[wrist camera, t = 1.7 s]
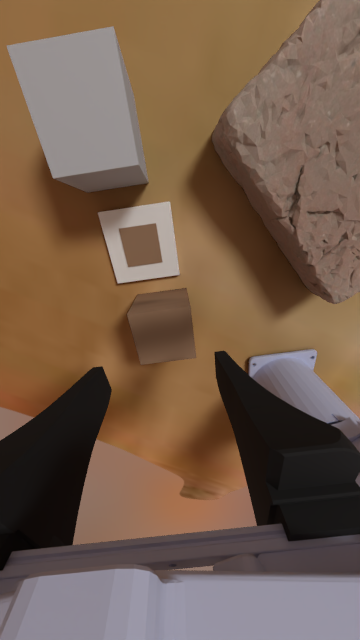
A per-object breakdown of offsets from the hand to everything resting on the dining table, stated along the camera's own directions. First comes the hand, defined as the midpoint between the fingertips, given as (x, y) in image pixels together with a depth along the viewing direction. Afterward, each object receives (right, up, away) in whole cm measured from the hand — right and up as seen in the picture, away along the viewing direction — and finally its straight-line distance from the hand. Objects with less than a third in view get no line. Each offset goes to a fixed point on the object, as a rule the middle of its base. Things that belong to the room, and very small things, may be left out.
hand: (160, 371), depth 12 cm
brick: (+12, +14, +4) cm, 19 cm away
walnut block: (0, +4, +8) cm, 9 cm away
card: (-2, +10, +5) cm, 11 cm away
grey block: (-4, +16, +2) cm, 17 cm away
